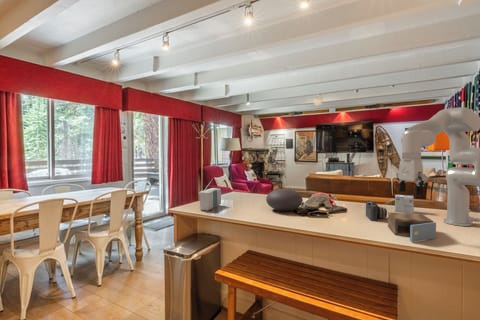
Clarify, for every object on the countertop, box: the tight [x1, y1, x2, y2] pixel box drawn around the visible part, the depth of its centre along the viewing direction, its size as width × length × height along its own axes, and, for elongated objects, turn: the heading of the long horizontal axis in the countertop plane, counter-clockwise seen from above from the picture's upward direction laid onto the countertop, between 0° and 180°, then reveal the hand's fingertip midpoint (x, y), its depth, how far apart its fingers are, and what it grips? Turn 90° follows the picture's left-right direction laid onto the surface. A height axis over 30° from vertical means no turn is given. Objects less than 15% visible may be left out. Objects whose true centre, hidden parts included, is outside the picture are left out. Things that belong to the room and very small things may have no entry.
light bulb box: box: [394, 194, 415, 214], centre depth 177 cm, size 11×7×11 cm, turn 58°
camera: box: [365, 200, 388, 222], centre depth 160 cm, size 14×11×10 cm
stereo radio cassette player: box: [198, 178, 222, 212], centre depth 192 cm, size 21×8×20 cm, turn 159°
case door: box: [409, 222, 437, 243], centre depth 121 cm, size 15×2×7 cm, turn 108°
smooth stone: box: [265, 188, 304, 212], centre depth 183 cm, size 25×25×15 cm
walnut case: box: [387, 211, 434, 237], centre depth 134 cm, size 16×14×8 cm
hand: (410, 193), depth 125 cm, fingers open, 9 cm apart
